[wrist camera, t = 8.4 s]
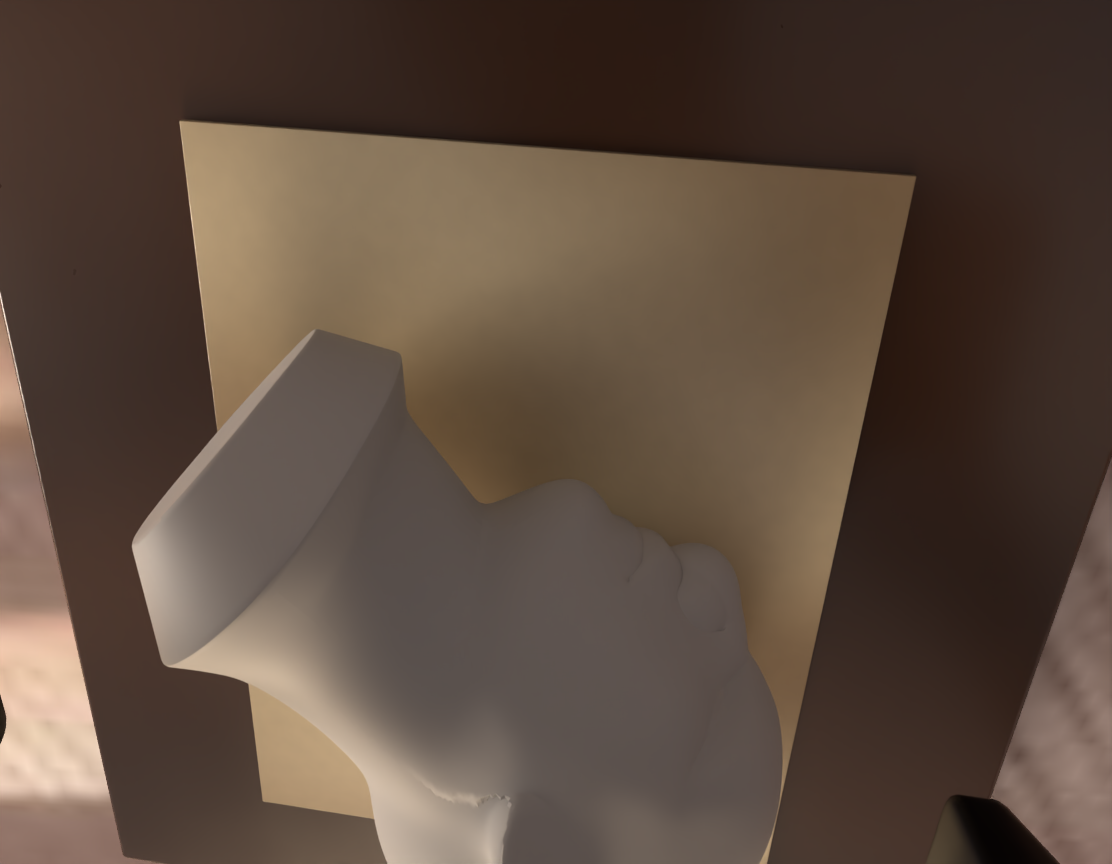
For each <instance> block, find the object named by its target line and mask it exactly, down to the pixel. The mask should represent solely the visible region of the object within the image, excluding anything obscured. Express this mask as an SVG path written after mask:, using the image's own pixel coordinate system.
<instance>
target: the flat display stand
mask: <svg viewBox="0 0 1112 864" xmlns="http://www.w3.org/2000/svg"><path fill="white" fill-rule="evenodd" d="M0 303H1V308H2V312H3V317H4V321H5V326H6V330H7V335H8V339H9V344H10V348H11V353H12V357H13V362H14V366H15V371H16V375H17V380H18V384H19V389H20V393H21V398H22V402H23V407H24V411H25V416H26V420H27V425H28V429H29V434H30V438H31V443H32V447H33V452H34V456H35V461H36V465H37V470H38V474H39V479H40V483H41V488H42V492H43V497H44V501H45V506H46V510H47V515H48V519H49V524H50V528H51V533H52V537H53V542H54V546H55V551H56V555H57V560H58V564H59V569H60V573H61V578H62V582H63V587H64V591H65V596H66V600H67V605H68V609H69V614H70V618H71V623H72V627H73V632H74V636H75V641H76V645H77V650H78V654H79V659H80V663H81V668H82V672H83V677H84V681H85V686H86V690H87V695H88V699H89V704H90V708H91V713H92V717H93V722H94V726H95V731H96V735H97V740H98V744H99V749H100V753H101V758H102V762H103V767H104V771H105V776H106V780H107V785H108V789H109V794H110V798H111V803H112V807H113V812H114V816H115V821H116V825H117V830H118V834H119V839H120V843H121V848H122V852H123V855H124V856H125V857H127V858H132V859H138V860H144V861H150V862H156V863H162V864H387V861H386V859H385V856H384V853H383V850H382V847H381V844H380V841H379V837H378V834H377V829H376V825H375V820H374V814H373V808H372V802H371V796H370V791H369V787H368V783H367V781H366V779H365V777H364V775H363V773H362V772H361V771H360V769H359V768H358V767H357V766H356V764H355V763H354V762H353V761H352V760H351V759H350V758H349V757H348V756H347V755H346V754H345V753H344V752H343V751H342V750H341V749H340V748H339V747H338V746H337V745H336V744H335V743H334V742H333V741H332V740H331V739H329V738H328V737H327V736H326V735H325V734H324V733H323V732H321V731H320V730H319V729H318V728H317V727H315V726H314V725H313V724H312V723H310V722H309V721H308V720H306V719H305V718H304V717H302V716H301V715H300V714H298V713H297V712H296V711H294V710H293V709H291V708H290V707H288V706H287V705H285V704H284V703H282V702H281V701H279V700H278V699H276V698H274V697H273V696H271V695H269V694H268V693H266V692H264V691H262V690H260V689H259V688H257V687H255V686H253V685H250V684H248V683H246V682H244V681H241V680H239V679H236V678H232V677H229V676H225V675H220V674H215V673H209V672H203V671H196V670H188V669H180V668H172V667H168V666H166V665H164V664H163V662H162V660H161V656H160V653H159V649H158V645H157V641H156V637H155V634H154V630H153V626H152V622H151V618H150V615H149V611H148V607H147V603H146V599H145V596H144V592H143V588H142V584H141V580H140V576H139V573H138V569H137V565H136V561H135V557H134V554H133V550H132V542H133V539H134V537H135V535H136V533H137V532H138V530H139V528H140V527H141V525H142V524H143V523H144V521H145V520H146V519H147V517H148V516H149V515H150V513H151V512H152V511H153V509H154V508H155V507H156V505H157V504H158V503H159V502H160V500H161V499H162V498H163V497H164V495H165V494H166V493H167V492H168V490H169V489H170V488H171V487H172V486H173V484H174V483H175V482H176V481H177V479H178V478H179V477H180V476H181V475H182V474H183V472H184V471H185V470H186V469H187V468H188V466H189V465H190V464H191V463H192V462H193V461H194V459H195V458H196V457H197V456H198V455H199V453H200V452H201V451H202V450H203V449H204V447H205V446H206V445H207V444H208V443H209V441H210V440H211V439H212V438H213V437H214V436H215V434H216V433H217V432H218V431H219V430H220V429H221V427H222V426H223V425H224V424H225V423H226V422H227V420H228V419H229V418H230V417H231V416H232V415H233V414H234V412H235V411H236V410H237V409H238V408H239V407H240V406H241V405H242V404H243V402H244V401H245V400H246V399H247V398H248V397H249V396H250V395H251V394H252V392H253V391H254V390H255V389H256V388H257V387H258V386H259V385H260V384H261V383H262V382H263V380H264V379H265V378H266V377H267V376H268V375H269V374H270V373H271V372H272V371H273V370H274V369H275V368H276V366H277V365H278V364H279V363H280V362H281V361H282V360H283V359H284V358H285V357H286V356H287V355H288V354H289V353H290V352H291V351H292V350H293V349H294V348H295V346H296V345H297V344H298V343H299V342H300V341H301V340H302V339H303V338H304V337H306V336H307V335H308V334H309V333H310V332H311V331H313V330H314V329H320V330H324V331H327V332H330V333H334V334H337V335H341V336H344V337H348V338H351V339H355V340H358V341H362V342H365V343H369V344H372V345H376V346H379V347H383V348H386V349H389V350H393V351H396V352H398V353H400V355H401V357H402V365H403V375H404V386H405V396H406V406H407V410H408V412H409V414H410V416H411V417H412V419H413V420H414V422H415V423H416V425H417V426H418V427H419V428H420V430H421V431H422V432H423V433H424V435H425V436H426V437H427V438H428V440H429V441H430V442H431V443H432V445H433V446H434V447H435V448H436V450H437V451H438V452H439V453H440V455H441V456H442V457H443V458H444V460H445V461H446V462H447V463H448V465H449V466H450V467H451V468H452V470H453V471H454V472H455V473H456V475H457V476H458V477H459V479H460V480H461V481H462V482H463V484H464V485H465V486H466V488H467V489H468V490H469V492H470V493H471V494H472V496H473V497H474V498H475V499H476V500H477V501H478V502H480V503H484V504H489V503H493V502H496V501H499V500H502V499H504V498H507V497H509V496H512V495H514V494H517V493H519V492H522V491H525V490H527V489H530V488H532V487H535V486H538V485H541V484H544V483H547V482H550V481H555V480H560V479H575V480H579V481H582V482H584V483H586V484H588V485H589V486H590V487H592V488H593V489H594V490H595V491H596V492H597V493H598V494H599V495H600V496H601V497H602V498H603V500H604V501H605V503H606V504H607V506H608V508H609V510H610V511H611V513H612V514H615V515H618V516H621V517H623V518H625V519H627V520H628V521H630V522H631V523H632V524H633V525H634V526H635V527H642V528H647V529H650V530H653V531H655V532H657V533H658V534H660V535H661V536H662V537H663V539H664V540H665V541H666V542H667V544H668V545H669V546H674V545H679V544H684V543H701V544H705V545H708V546H710V547H713V548H715V549H716V550H718V551H719V552H721V553H722V554H723V555H724V556H725V557H726V558H727V560H728V561H729V562H730V564H731V565H732V567H733V569H734V571H735V573H736V576H737V579H738V583H739V588H740V595H741V603H742V609H743V614H744V619H745V625H746V632H747V641H748V650H749V652H750V653H751V655H752V657H753V658H754V660H755V661H756V663H757V665H758V666H759V668H760V670H761V672H762V674H763V676H764V678H765V680H766V682H767V684H768V686H769V689H770V691H771V693H772V696H773V699H774V701H775V705H776V708H777V711H778V716H779V720H780V727H781V736H782V749H783V765H782V782H781V793H780V801H779V807H778V811H777V816H776V820H775V824H774V828H773V831H772V835H771V838H770V840H769V843H768V846H767V848H766V851H765V853H764V855H763V857H762V859H761V862H760V864H926V860H927V857H928V853H929V850H930V847H931V844H932V841H933V838H934V835H935V832H936V829H937V826H938V823H939V819H940V816H941V813H942V810H943V807H944V805H945V803H946V801H947V800H948V798H949V797H951V796H952V795H957V794H959V795H966V796H973V797H980V798H987V799H990V798H991V795H992V792H993V790H994V787H995V784H996V781H997V778H998V775H999V773H1000V770H1001V767H1002V764H1003V761H1004V759H1005V756H1006V753H1007V750H1008V747H1009V744H1010V742H1011V739H1012V736H1013V733H1014V730H1015V728H1016V725H1017V722H1018V719H1019V716H1020V713H1021V711H1022V708H1023V705H1024V702H1025V699H1026V697H1027V694H1028V691H1029V688H1030V685H1031V682H1032V680H1033V677H1034V674H1035V671H1036V668H1037V666H1038V663H1039V660H1040V657H1041V654H1042V651H1043V649H1044V646H1045V643H1046V640H1047V637H1048V635H1049V632H1050V629H1051V626H1052V623H1053V620H1054V618H1055V615H1056V612H1057V609H1058V606H1059V604H1060V601H1061V598H1062V595H1063V592H1064V589H1065V587H1066V584H1067V581H1068V578H1069V575H1070V573H1071V570H1072V567H1073V564H1074V561H1075V559H1076V556H1077V553H1078V550H1079V547H1080V544H1081V542H1082V539H1083V536H1084V533H1085V530H1086V528H1087V525H1088V522H1089V519H1090V516H1091V513H1092V511H1093V508H1094V505H1095V502H1096V499H1097V497H1098V494H1099V491H1100V488H1101V485H1102V482H1103V480H1104V477H1105V474H1106V471H1107V468H1108V466H1109V463H1110V460H1111V457H1112V0H0Z"/></svg>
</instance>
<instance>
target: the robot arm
mask: <svg viewBox="0 0 1112 864" xmlns="http://www.w3.org/2000/svg"><path fill="white" fill-rule="evenodd" d="M5 728H6V714H5V710H4V707H3V703H2V699H1V696H0V743H1V741H2V738H3V736H4V733H5ZM926 864H1060V863H1059V862H1058V861H1057V860H1056V859H1055V858H1054V857H1053V856H1052V855H1051V854H1050V853H1049V852H1048V850H1047V849H1046V848H1045V847H1044V846H1043V845H1042V844H1041V843H1040V842H1039V841H1038V840H1037V839H1036V838H1035V836H1034V835H1033V834H1032V833H1031V832H1030V831H1029V830H1028V829H1027V828H1026V827H1025V826H1024V825H1023V824H1022V823H1021V821H1020V820H1019V819H1018V818H1017V817H1016V816H1015V815H1014V814H1013V813H1012V812H1011V811H1010V810H1009V809H1008V808H1007V807H1006V806H1005V805H1004V804H1002V803H1001V802H999V801H997V800H994V799H987V798H980V797H973V796H966V795H959V794H957V795H952V796H951V797H949V798H948V800H947V801H946V803H945V805H944V807H943V810H942V813H941V816H940V819H939V823H938V826H937V829H936V832H935V835H934V838H933V841H932V844H931V847H930V850H929V853H928V857H927V860H926Z"/></svg>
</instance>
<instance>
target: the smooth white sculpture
mask: <svg viewBox="0 0 1112 864" xmlns="http://www.w3.org/2000/svg"><path fill="white" fill-rule="evenodd" d="M132 550H133V554H134V557H135V561H136V565H137V569H138V573H139V576H140V580H141V584H142V588H143V592H144V596H145V599H146V603H147V607H148V611H149V615H150V618H151V622H152V626H153V630H154V634H155V637H156V641H157V645H158V649H159V653H160V656H161V660H162V662H163V664H164V665H166V666H168V667H172V668H180V669H188V670H196V671H203V672H209V673H215V674H220V675H225V676H229V677H232V678H236V679H239V680H241V681H244V682H246V683H248V684H250V685H253V686H255V687H257V688H259V689H260V690H262V691H264V692H266V693H268V694H269V695H271V696H273V697H274V698H276V699H278V700H279V701H281V702H282V703H284V704H285V705H287V706H288V707H290V708H291V709H293V710H294V711H296V712H297V713H298V714H300V715H301V716H302V717H304V718H305V719H306V720H308V721H309V722H310V723H312V724H313V725H314V726H315V727H317V728H318V729H319V730H320V731H321V732H323V733H324V734H325V735H326V736H327V737H328V738H329V739H331V740H332V741H333V742H334V743H335V744H336V745H337V746H338V747H339V748H340V749H341V750H342V751H343V752H344V753H345V754H346V755H347V756H348V757H349V758H350V759H351V760H352V761H353V762H354V763H355V764H356V766H357V767H358V768H359V769H360V771H361V772H362V773H363V775H364V777H365V779H366V781H367V783H368V787H369V791H370V796H371V802H372V808H373V814H374V820H375V825H376V829H377V834H378V837H379V841H380V844H381V847H382V850H383V853H384V856H385V859H386V861H387V864H760V862H761V859H762V857H763V855H764V853H765V851H766V848H767V846H768V843H769V840H770V838H771V835H772V831H773V828H774V824H775V820H776V816H777V811H778V807H779V801H780V793H781V782H782V765H783V749H782V736H781V727H780V720H779V716H778V711H777V708H776V705H775V701H774V699H773V696H772V693H771V691H770V689H769V686H768V684H767V682H766V680H765V678H764V676H763V674H762V672H761V670H760V668H759V666H758V665H757V663H756V661H755V660H754V658H753V657H752V655H751V653H750V652H749V650H748V641H747V632H746V625H745V619H744V614H743V609H742V603H741V595H740V588H739V583H738V579H737V576H736V573H735V571H734V569H733V567H732V565H731V564H730V562H729V561H728V560H727V558H726V557H725V556H724V555H723V554H722V553H721V552H719V551H718V550H716V549H715V548H713V547H710V546H708V545H705V544H701V543H684V544H679V545H674V546H669V545H668V544H667V542H666V541H665V540H664V539H663V537H662V536H661V535H660V534H658V533H657V532H655V531H653V530H650V529H647V528H642V527H635V526H634V525H633V524H632V523H631V522H630V521H628V520H627V519H625V518H623V517H621V516H618V515H615V514H612V513H611V511H610V510H609V508H608V506H607V504H606V503H605V501H604V500H603V498H602V497H601V496H600V495H599V494H598V493H597V492H596V491H595V490H594V489H593V488H592V487H590V486H589V485H588V484H586V483H584V482H582V481H579V480H575V479H560V480H555V481H550V482H547V483H544V484H541V485H538V486H535V487H532V488H530V489H527V490H525V491H522V492H519V493H517V494H514V495H512V496H509V497H507V498H504V499H502V500H499V501H496V502H493V503H489V504H484V503H480V502H478V501H477V500H476V499H475V498H474V497H473V496H472V494H471V493H470V492H469V490H468V489H467V488H466V486H465V485H464V484H463V482H462V481H461V480H460V479H459V477H458V476H457V475H456V473H455V472H454V471H453V470H452V468H451V467H450V466H449V465H448V463H447V462H446V461H445V460H444V458H443V457H442V456H441V455H440V453H439V452H438V451H437V450H436V448H435V447H434V446H433V445H432V443H431V442H430V441H429V440H428V438H427V437H426V436H425V435H424V433H423V432H422V431H421V430H420V428H419V427H418V426H417V425H416V423H415V422H414V420H413V419H412V417H411V416H410V414H409V412H408V410H407V406H406V396H405V386H404V375H403V365H402V357H401V355H400V353H398V352H396V351H393V350H389V349H386V348H383V347H379V346H376V345H372V344H369V343H365V342H362V341H358V340H355V339H351V338H348V337H344V336H341V335H337V334H334V333H330V332H327V331H324V330H320V329H314V330H313V331H311V332H310V333H309V334H308V335H307V336H306V337H304V338H303V339H302V340H301V341H300V342H299V343H298V344H297V345H296V346H295V348H294V349H293V350H292V351H291V352H290V353H289V354H288V355H287V356H286V357H285V358H284V359H283V360H282V361H281V362H280V363H279V364H278V365H277V366H276V368H275V369H274V370H273V371H272V372H271V373H270V374H269V375H268V376H267V377H266V378H265V379H264V380H263V382H262V383H261V384H260V385H259V386H258V387H257V388H256V389H255V390H254V391H253V392H252V394H251V395H250V396H249V397H248V398H247V399H246V400H245V401H244V402H243V404H242V405H241V406H240V407H239V408H238V409H237V410H236V411H235V412H234V414H233V415H232V416H231V417H230V418H229V419H228V420H227V422H226V423H225V424H224V425H223V426H222V427H221V429H220V430H219V431H218V432H217V433H216V434H215V436H214V437H213V438H212V439H211V440H210V441H209V443H208V444H207V445H206V446H205V447H204V449H203V450H202V451H201V452H200V453H199V455H198V456H197V457H196V458H195V459H194V461H193V462H192V463H191V464H190V465H189V466H188V468H187V469H186V470H185V471H184V472H183V474H182V475H181V476H180V477H179V478H178V479H177V481H176V482H175V483H174V484H173V486H172V487H171V488H170V489H169V490H168V492H167V493H166V494H165V495H164V497H163V498H162V499H161V500H160V502H159V503H158V504H157V505H156V507H155V508H154V509H153V511H152V512H151V513H150V515H149V516H148V517H147V519H146V520H145V521H144V523H143V524H142V525H141V527H140V528H139V530H138V532H137V533H136V535H135V537H134V539H133V542H132Z"/></svg>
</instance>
